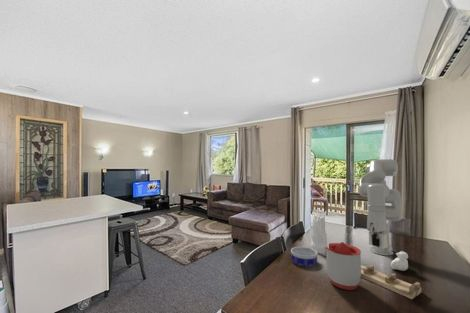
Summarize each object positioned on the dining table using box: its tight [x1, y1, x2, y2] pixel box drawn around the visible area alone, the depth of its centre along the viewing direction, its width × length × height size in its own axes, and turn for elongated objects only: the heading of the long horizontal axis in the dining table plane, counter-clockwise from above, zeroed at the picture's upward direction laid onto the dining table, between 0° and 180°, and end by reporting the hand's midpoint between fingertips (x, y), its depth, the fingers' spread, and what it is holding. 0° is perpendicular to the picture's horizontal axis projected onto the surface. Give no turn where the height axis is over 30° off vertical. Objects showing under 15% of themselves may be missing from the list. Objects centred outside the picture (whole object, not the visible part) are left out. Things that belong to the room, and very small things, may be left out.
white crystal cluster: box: [310, 212, 329, 255], centre depth 145 cm, size 11×11×25 cm
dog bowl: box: [290, 246, 318, 267], centre depth 128 cm, size 15×15×6 cm
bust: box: [390, 250, 409, 272], centre depth 117 cm, size 12×8×11 cm
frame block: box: [368, 232, 387, 249], centre depth 107 cm, size 3×7×6 cm, turn 30°
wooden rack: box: [360, 264, 422, 300], centre depth 106 cm, size 10×30×4 cm, turn 30°
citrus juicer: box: [321, 241, 362, 291], centre depth 103 cm, size 16×17×20 cm
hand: (378, 244), depth 107 cm, fingers closed on frame block, 3 cm apart
